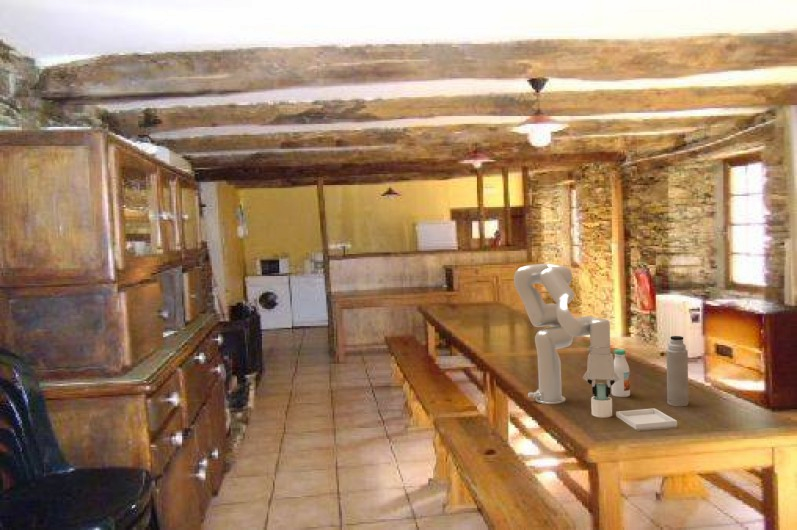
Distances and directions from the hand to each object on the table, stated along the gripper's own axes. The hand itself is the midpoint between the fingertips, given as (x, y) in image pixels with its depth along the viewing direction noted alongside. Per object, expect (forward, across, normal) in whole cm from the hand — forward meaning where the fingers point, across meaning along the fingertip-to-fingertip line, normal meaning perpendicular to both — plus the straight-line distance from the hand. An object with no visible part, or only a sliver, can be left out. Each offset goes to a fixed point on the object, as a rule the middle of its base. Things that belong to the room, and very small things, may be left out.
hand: (601, 395), depth 254 cm
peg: (+7, 0, 0) cm, 7 cm away
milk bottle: (+8, +8, +31) cm, 33 cm away
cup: (+8, 0, 0) cm, 8 cm away
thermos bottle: (+8, +30, +22) cm, 38 cm away
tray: (+8, +16, -6) cm, 19 cm away
